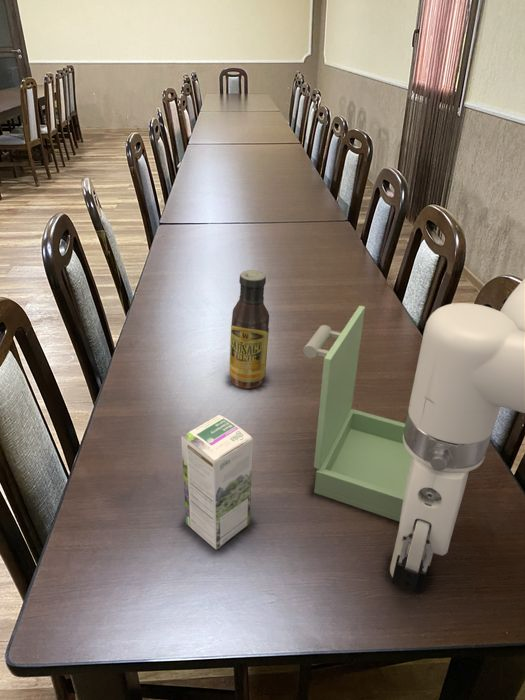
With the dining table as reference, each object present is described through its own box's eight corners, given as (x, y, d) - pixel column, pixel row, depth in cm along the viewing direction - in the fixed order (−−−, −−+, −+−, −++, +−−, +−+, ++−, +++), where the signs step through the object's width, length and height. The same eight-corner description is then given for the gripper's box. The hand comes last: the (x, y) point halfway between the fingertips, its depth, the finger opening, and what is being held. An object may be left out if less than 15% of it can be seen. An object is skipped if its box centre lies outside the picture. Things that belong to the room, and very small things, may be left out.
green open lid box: (452, 458, 77) (458, 437, 75) (436, 534, 66) (442, 512, 64) (346, 428, 83) (349, 407, 81) (314, 492, 71) (316, 471, 69)
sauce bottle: (224, 387, 91) (223, 279, 81) (235, 368, 96) (234, 264, 86) (262, 393, 90) (265, 284, 79) (270, 373, 95) (274, 269, 85)
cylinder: (426, 563, 62) (439, 514, 58) (425, 593, 59) (439, 544, 55) (391, 554, 63) (402, 506, 59) (388, 583, 60) (399, 534, 55)
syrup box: (219, 499, 70) (217, 410, 62) (252, 525, 66) (253, 434, 59) (185, 524, 66) (178, 433, 58) (217, 553, 63) (214, 460, 55)
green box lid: (365, 306, 72) (330, 299, 73) (330, 359, 60) (290, 349, 62) (352, 406, 80) (321, 397, 82) (319, 469, 69) (284, 458, 70)
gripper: (479, 511, 42) (436, 641, 51) (495, 394, 56) (459, 513, 65) (384, 481, 45) (360, 610, 54) (421, 376, 58) (397, 493, 67)
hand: (414, 556), depth 59 cm, fingers open, 7 cm apart
